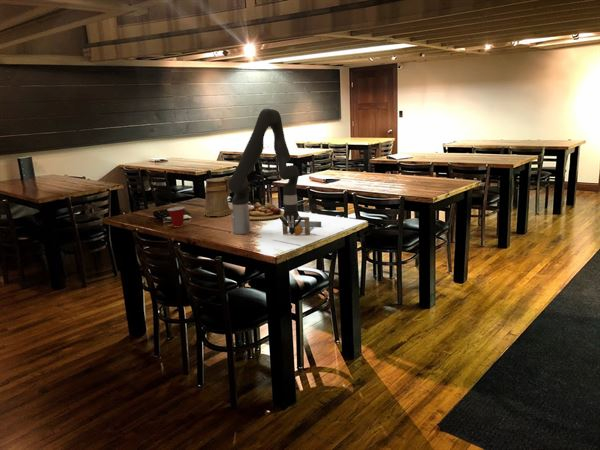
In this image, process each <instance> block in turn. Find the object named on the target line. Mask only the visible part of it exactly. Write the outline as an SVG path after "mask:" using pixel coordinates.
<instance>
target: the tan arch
mask: <svg viewBox="0 0 600 450" xmlns="http://www.w3.org/2000/svg"><path fill="white" fill-rule="evenodd" d="M302 217H303V219H302V220H301V221H305V233H304V235H305V236H310V234H311V232H310V222H309V221H310V217H309V216H302ZM285 220H286V218H285ZM286 221H287V220H286ZM295 221H298V218H297V219H296V220H295ZM287 222H288V221H287ZM281 223H282V235H284V236H285V235H288V234H289V233H288V231H289V227H286V226H285V225H284V223H283V222H282V221H281Z"/></svg>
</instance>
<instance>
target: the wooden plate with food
mask: <svg viewBox="0 0 600 450" xmlns="http://www.w3.org/2000/svg"><path fill="white" fill-rule="evenodd" d="M283 214H284V210H282V209H281V208H280V207H277V206H275V204H272V203H270V202H267V203H266V204H264V206H262V204H261V203H260V202H258V201H257V202H255V203H254V205H253V208H250V207H249V219H250V222H266V221H267V222H268V221H274V220H280V218H281V217H282V216H283Z"/></svg>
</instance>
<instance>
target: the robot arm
mask: <svg viewBox="0 0 600 450" xmlns="http://www.w3.org/2000/svg"><path fill="white" fill-rule="evenodd" d="M269 127H270V129H271V130H272V132H273V139H274V140H273V141H274V142H273V148H274V149H273V150H274V152H275V156H276V158H277V164H278V167H277V168H278V175H279V176H280V178H281V179H282V180H285V181H287V180H288V182H286V183H285V184H283V188H282V191H283V201H282V203H283V211H284V214H283V216H282V217H281V218H279V220H280V221H281V223H282V222H283V223H284V225H285V226H286V227H288V231H289V233H288V234H290V235H295V234H294V233H295V227H296V226H298V224H299V223H300V222H301V221H303V220H302V219H303V217H304V216H300V214H299V207H298V195H297V186H298V181H299V176H300V171H299V169H298V166H296V165H295V164H294V165H292V164H291V165H287V163H288V162H290V161H291V158H292V157H291V154H290V151H289V148H288V145H287V141H286V137H285V132H284V128H283V121H282V116H281V114H280V112H279V111H278V110H277V109H273V108H263V109H262V110H261V111H260V113H259V114H258V116H257V120H256V122H255V125H254V129H253V131H252V133H251V135H250V137H249V140H248V142H247V144H246V146H245V148H244V150H243V153H242V155H241V157H240V160H239V161H238V164H237V166H236V169H235V170H234V172H233V173H232V175H231V176H230V179H229V183H228V186H229V189H230V192H232V193H234V195H233V197H232V199H231V205H232V217H231V223H232V224H231V225H232V234H235V235H247V234H250V233H251V221H250V219H249V208H250V207H249V198H250V185H249V184H250V183H249V180H248V178H247V176H248V174H249V173H250V172H251V170H252V169H253V168H254V167H255V165H256V164H257V163H258V161H259V160H260V158H261V155H262V153H263V151H264V138H265V135H266V132H267V130H268V129H269ZM285 218H286V220H287V221H286V220H285ZM297 218H298V220H296V219H297ZM295 221H297V223H296V224H295Z"/></svg>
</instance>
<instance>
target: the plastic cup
mask: <svg viewBox="0 0 600 450" xmlns="http://www.w3.org/2000/svg"><path fill="white" fill-rule="evenodd" d="M167 212H168V214H169V216H170V220H171V223H172V225H173V227H174V226H181V225H183V226H184V217H185V215H184V213H185V206H175V207H171V208H168V209H167Z"/></svg>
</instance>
